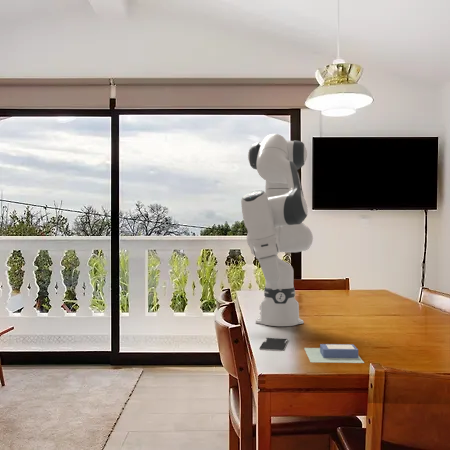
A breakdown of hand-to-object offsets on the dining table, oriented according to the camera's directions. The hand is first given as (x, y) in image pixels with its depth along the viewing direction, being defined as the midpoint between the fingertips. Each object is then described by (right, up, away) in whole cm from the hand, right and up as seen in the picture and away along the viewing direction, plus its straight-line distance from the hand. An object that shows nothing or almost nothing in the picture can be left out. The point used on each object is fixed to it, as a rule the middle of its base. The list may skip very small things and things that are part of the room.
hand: (274, 288), depth 150 cm
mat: (+17, -20, -4) cm, 26 cm away
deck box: (+13, -18, -4) cm, 23 cm away
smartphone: (+1, -20, +9) cm, 22 cm away
